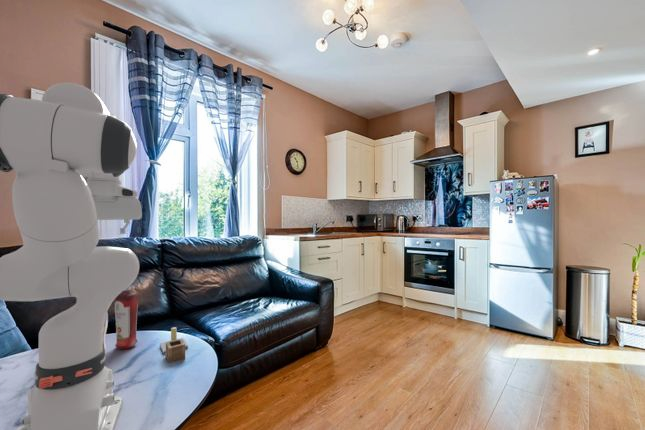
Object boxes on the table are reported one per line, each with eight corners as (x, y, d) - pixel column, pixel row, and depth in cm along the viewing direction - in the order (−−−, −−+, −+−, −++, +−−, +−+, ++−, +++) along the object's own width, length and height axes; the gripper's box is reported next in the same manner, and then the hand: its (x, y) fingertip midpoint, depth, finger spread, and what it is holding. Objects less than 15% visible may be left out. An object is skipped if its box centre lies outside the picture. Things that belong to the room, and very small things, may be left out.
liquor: (109, 350, 104) (109, 272, 104) (126, 341, 111) (126, 269, 111) (126, 352, 102) (126, 273, 102) (143, 343, 109) (142, 269, 109)
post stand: (187, 348, 105) (188, 329, 105) (163, 354, 101) (163, 334, 101) (183, 340, 112) (183, 322, 112) (159, 346, 107) (159, 327, 107)
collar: (185, 359, 98) (185, 344, 98) (168, 363, 95) (168, 348, 95) (181, 352, 102) (181, 338, 102) (165, 356, 99) (165, 341, 99)
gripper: (59, 188, 83) (59, 236, 83) (142, 191, 96) (142, 233, 96) (62, 190, 88) (62, 235, 88) (140, 193, 101) (140, 232, 101)
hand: (104, 234), depth 92 cm, fingers open, 8 cm apart
